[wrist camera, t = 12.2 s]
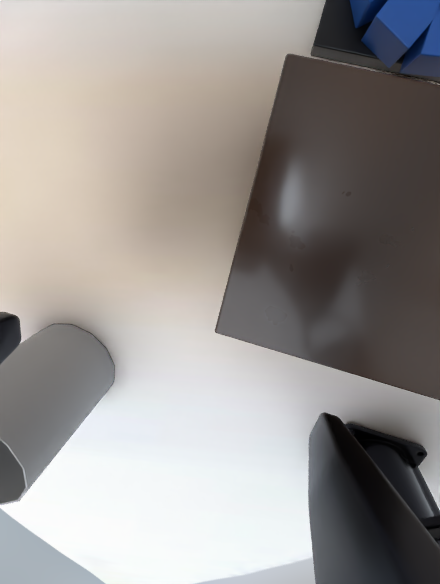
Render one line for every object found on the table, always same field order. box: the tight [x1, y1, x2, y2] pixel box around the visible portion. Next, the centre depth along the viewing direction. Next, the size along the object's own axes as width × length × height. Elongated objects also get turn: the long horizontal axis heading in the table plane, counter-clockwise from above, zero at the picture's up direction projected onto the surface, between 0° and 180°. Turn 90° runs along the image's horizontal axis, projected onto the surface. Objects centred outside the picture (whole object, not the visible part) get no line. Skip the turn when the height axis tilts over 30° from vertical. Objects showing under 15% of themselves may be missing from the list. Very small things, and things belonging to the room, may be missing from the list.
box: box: [215, 54, 440, 400], centre depth 14 cm, size 10×10×8 cm
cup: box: [0, 324, 114, 505], centre depth 22 cm, size 8×8×10 cm
